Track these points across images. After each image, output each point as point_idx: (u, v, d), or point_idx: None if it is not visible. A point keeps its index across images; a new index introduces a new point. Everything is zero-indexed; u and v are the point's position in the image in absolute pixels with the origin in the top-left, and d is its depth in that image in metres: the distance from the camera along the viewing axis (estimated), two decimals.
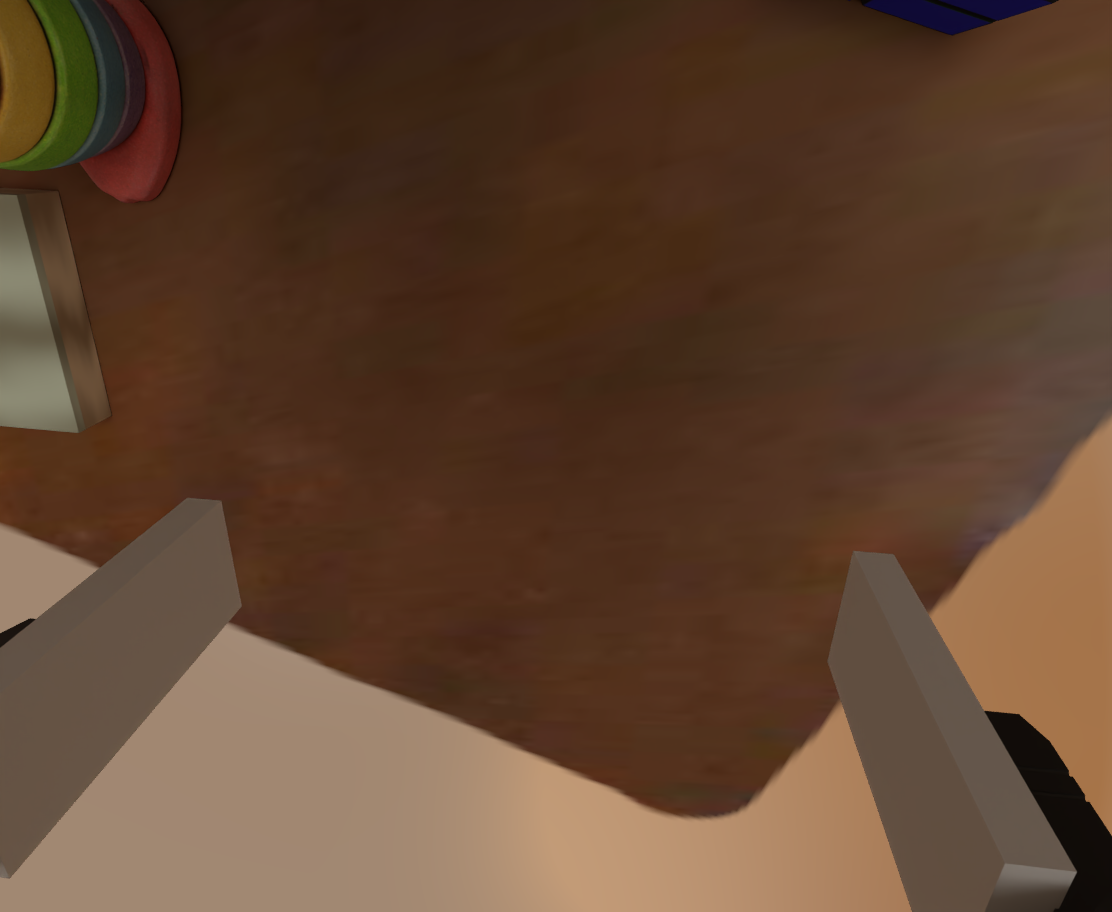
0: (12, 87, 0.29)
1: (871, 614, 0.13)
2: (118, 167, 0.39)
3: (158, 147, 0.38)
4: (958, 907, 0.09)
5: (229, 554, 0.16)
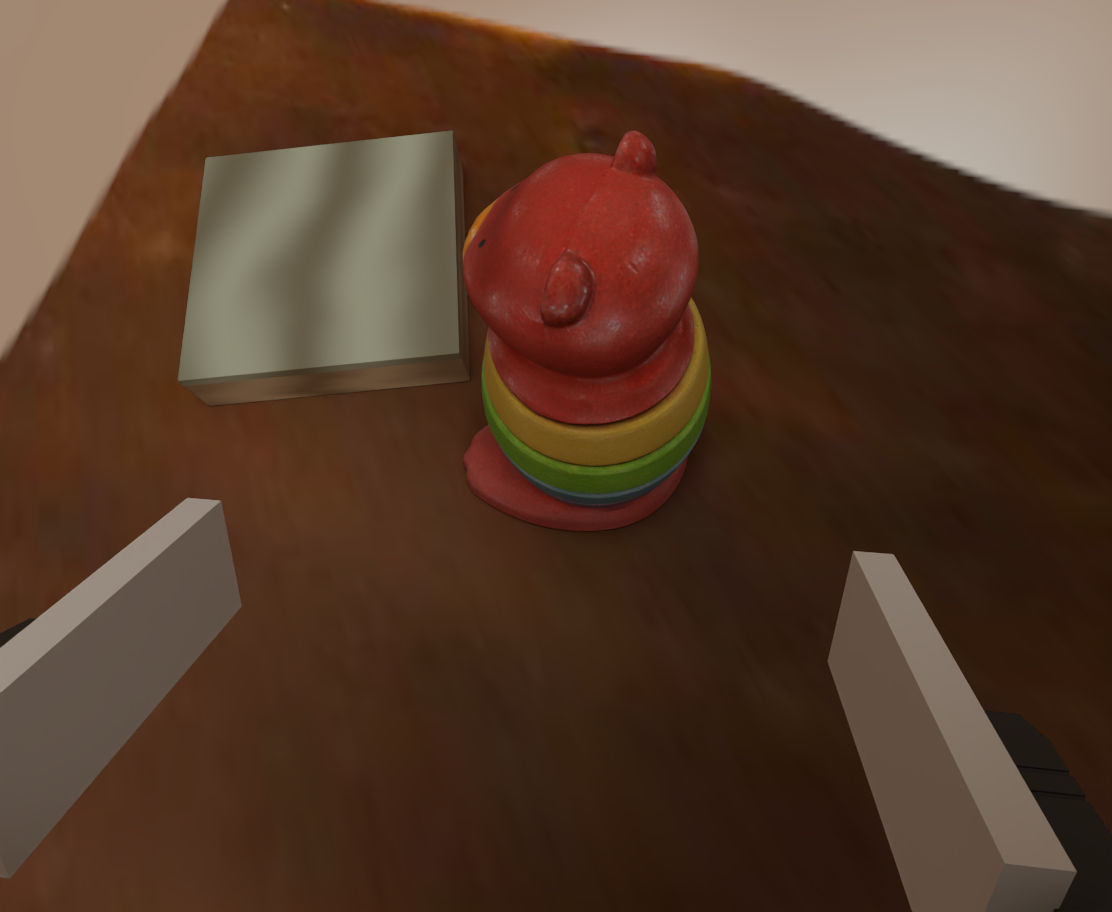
0: (569, 435, 0.25)
1: (871, 614, 0.13)
2: (500, 464, 0.34)
3: (526, 509, 0.33)
4: (958, 907, 0.09)
5: (229, 554, 0.16)
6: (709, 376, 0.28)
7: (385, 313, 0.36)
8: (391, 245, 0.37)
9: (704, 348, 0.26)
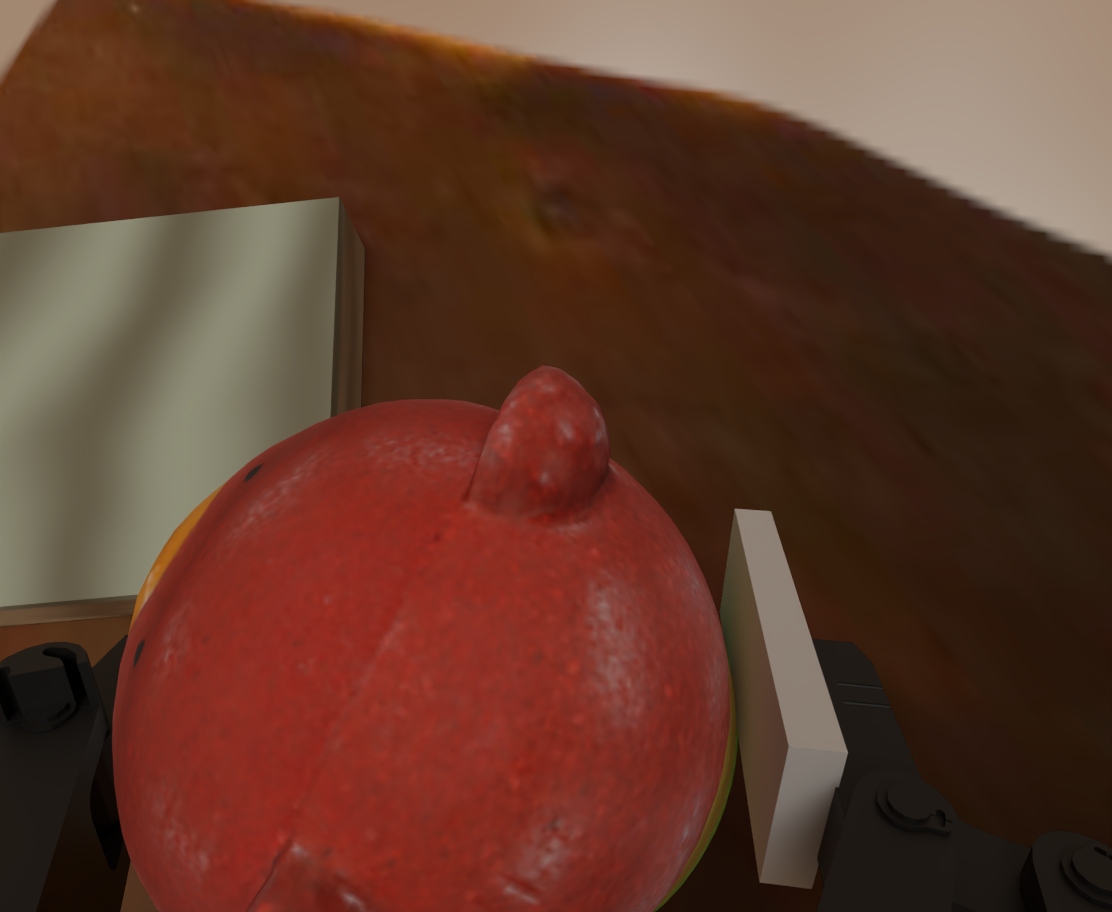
0: None
1: (740, 561, 0.14)
2: None
3: None
4: (768, 795, 0.10)
5: None
6: (736, 731, 0.14)
7: None
8: (231, 384, 0.24)
9: (730, 727, 0.12)
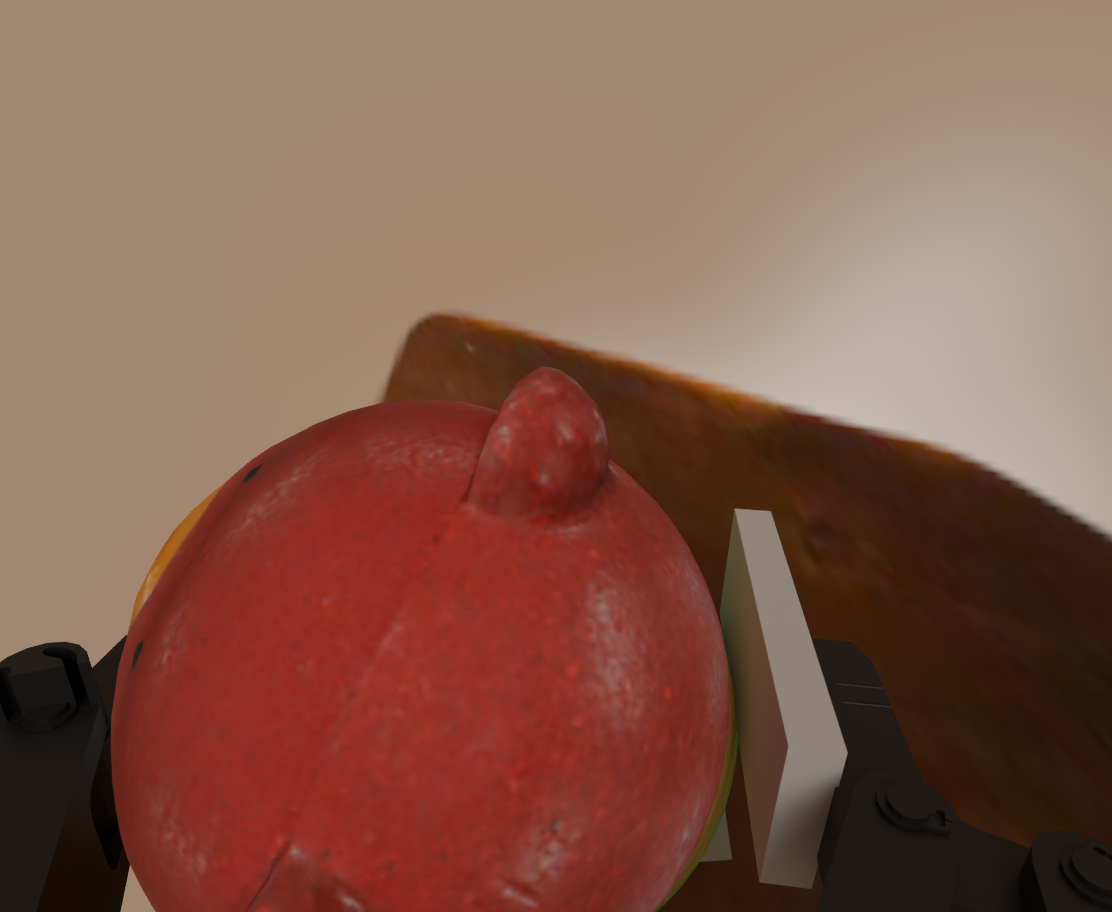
0: None
1: (740, 561, 0.14)
2: None
3: None
4: (768, 795, 0.10)
5: None
6: (736, 732, 0.14)
7: None
8: None
9: (730, 728, 0.12)
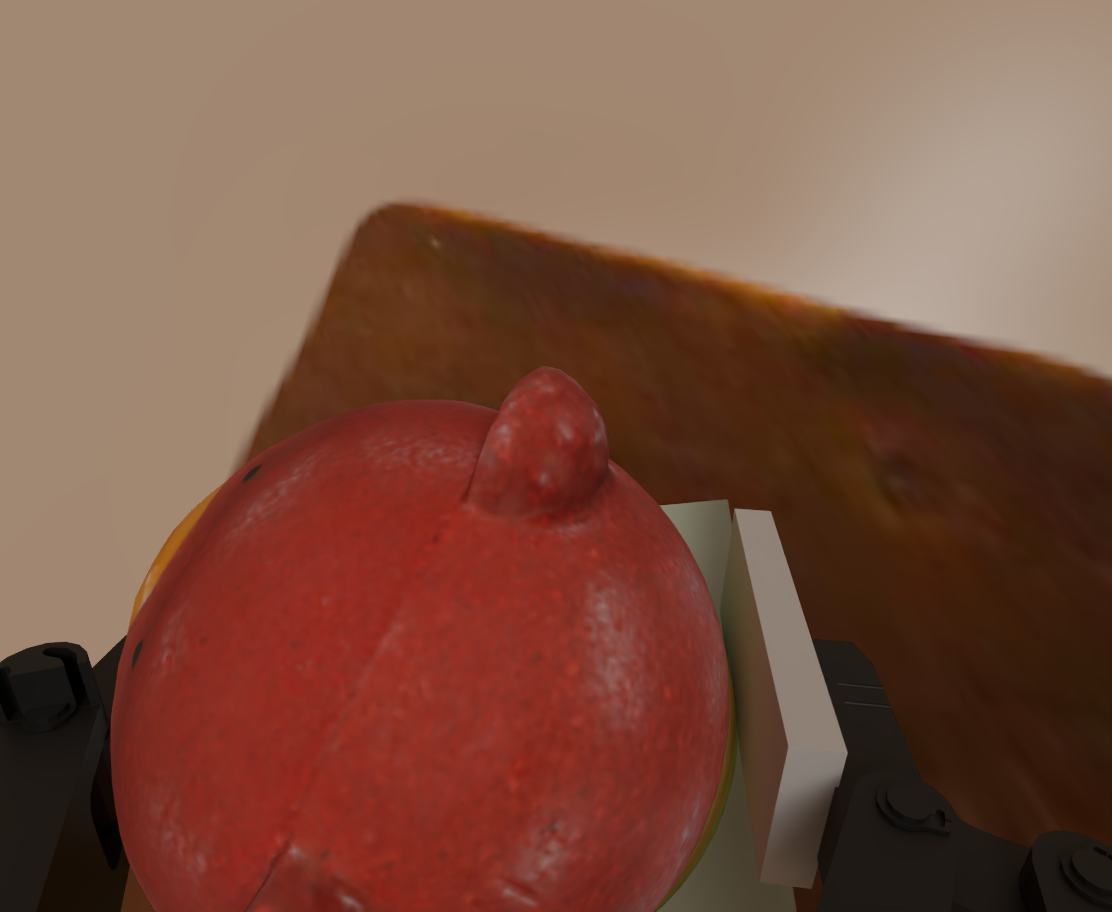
0: None
1: (740, 561, 0.14)
2: None
3: None
4: (768, 795, 0.10)
5: None
6: (736, 731, 0.14)
7: None
8: None
9: (730, 728, 0.12)
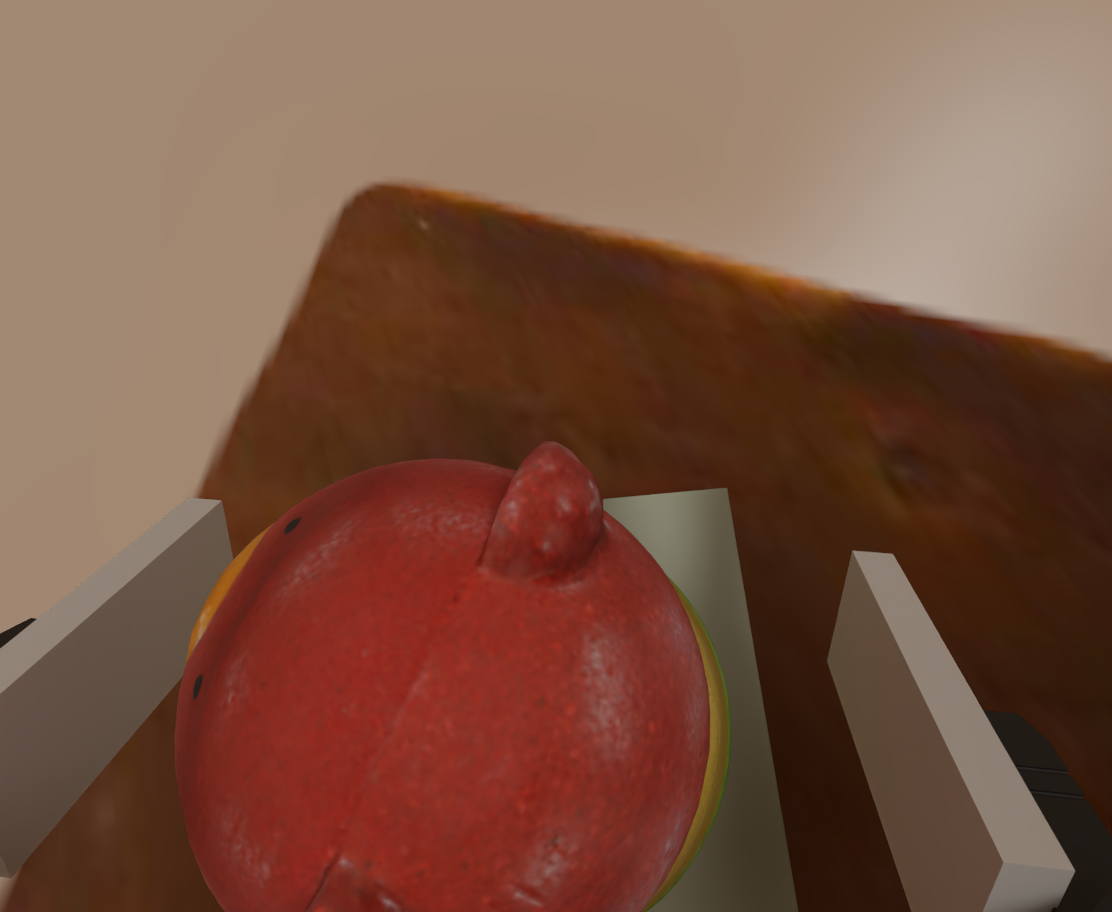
0: None
1: (870, 614, 0.13)
2: None
3: None
4: (957, 906, 0.09)
5: (230, 554, 0.16)
6: (729, 740, 0.15)
7: None
8: None
9: (720, 739, 0.13)
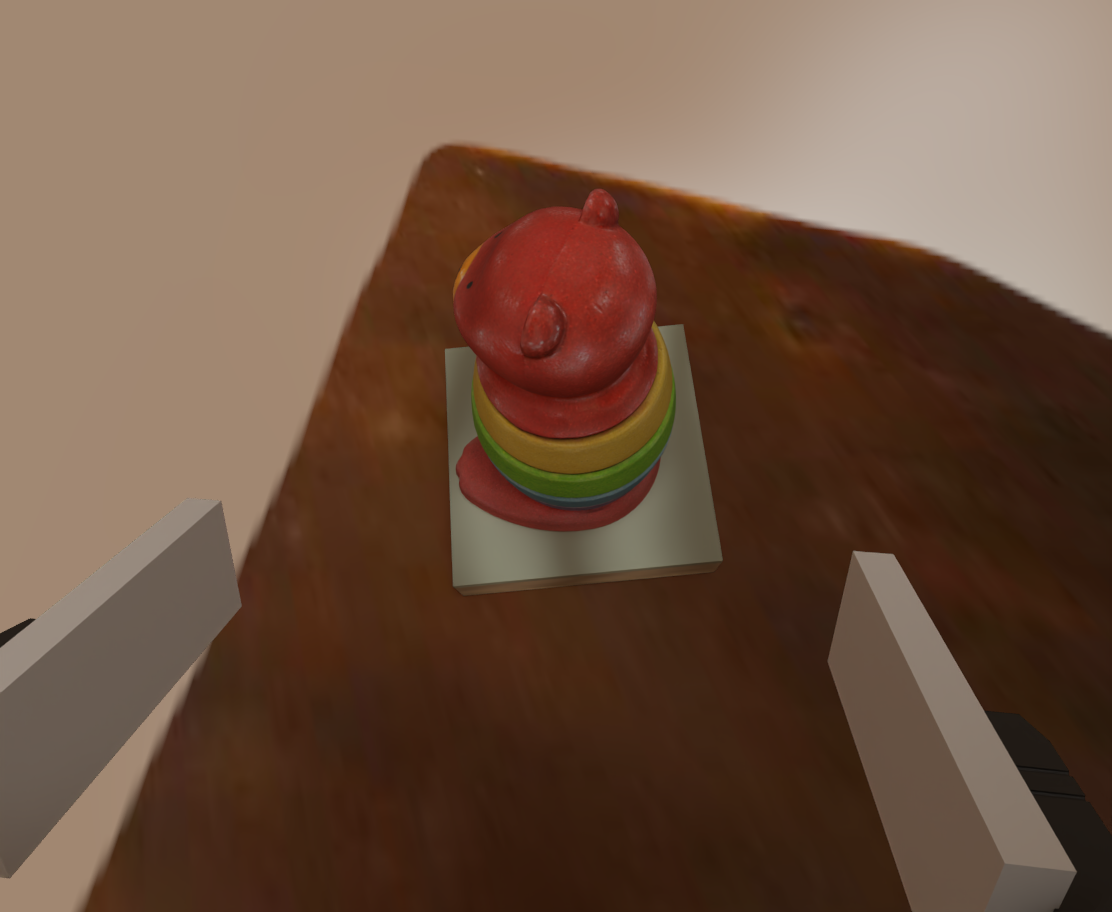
0: (549, 447, 0.28)
1: (870, 614, 0.13)
2: (489, 472, 0.37)
3: (513, 512, 0.37)
4: (958, 907, 0.09)
5: (229, 554, 0.16)
6: (673, 392, 0.31)
7: (645, 517, 0.38)
8: None
9: (667, 369, 0.29)
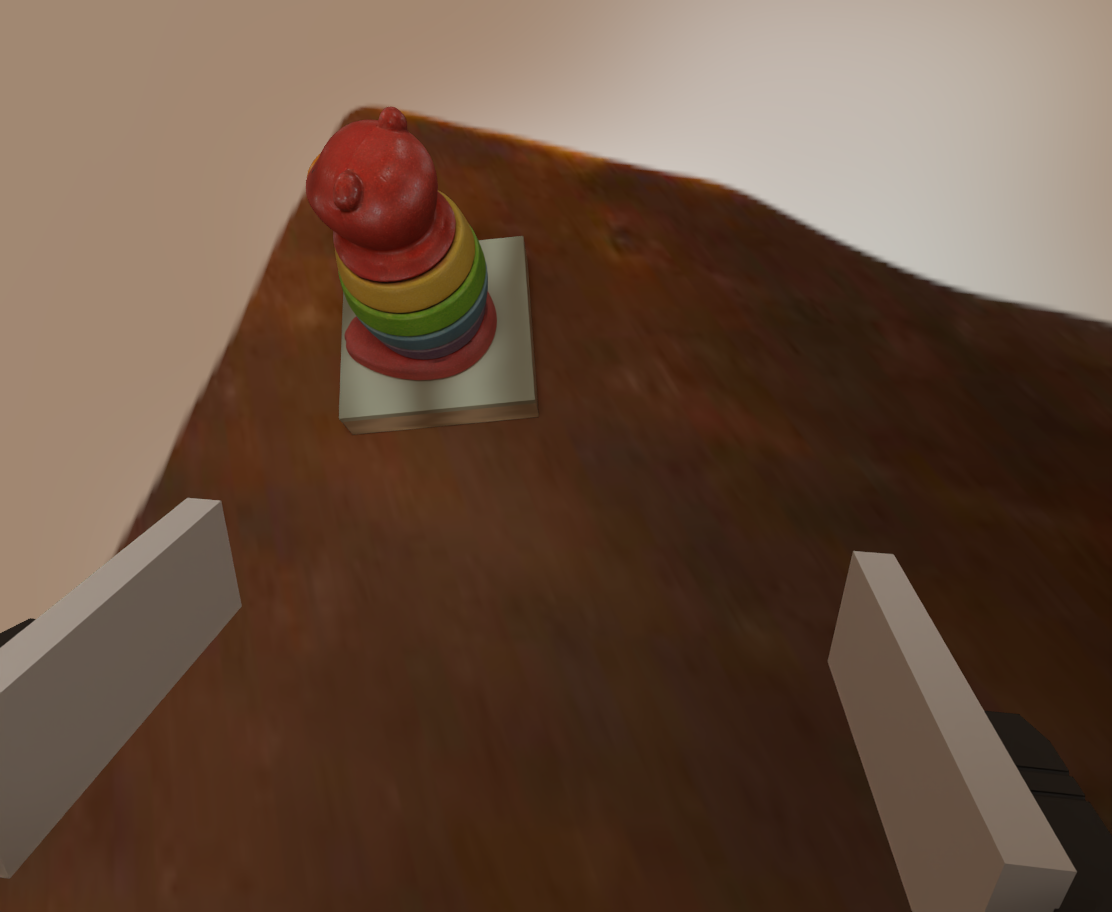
0: (378, 289, 0.42)
1: (871, 614, 0.13)
2: (365, 335, 0.51)
3: (382, 364, 0.50)
4: (958, 907, 0.09)
5: (229, 554, 0.16)
6: (477, 262, 0.45)
7: (481, 371, 0.51)
8: None
9: (463, 240, 0.43)
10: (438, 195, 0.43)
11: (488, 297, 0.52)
